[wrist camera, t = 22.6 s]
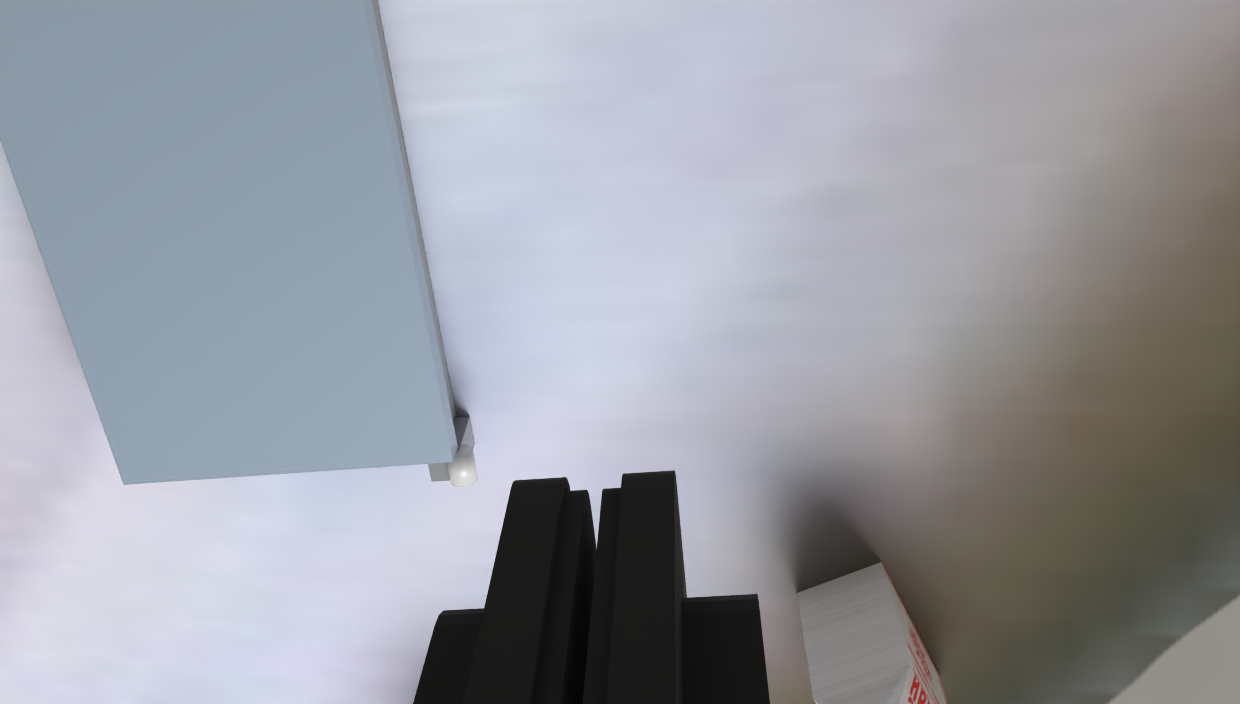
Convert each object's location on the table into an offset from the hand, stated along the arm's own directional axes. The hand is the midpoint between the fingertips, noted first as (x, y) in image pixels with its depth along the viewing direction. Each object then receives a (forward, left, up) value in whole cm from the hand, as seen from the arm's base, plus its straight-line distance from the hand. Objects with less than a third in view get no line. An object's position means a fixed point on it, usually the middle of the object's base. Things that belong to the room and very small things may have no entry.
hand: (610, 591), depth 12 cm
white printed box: (+25, +7, -27) cm, 38 cm away
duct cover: (+2, -14, -25) cm, 28 cm away
